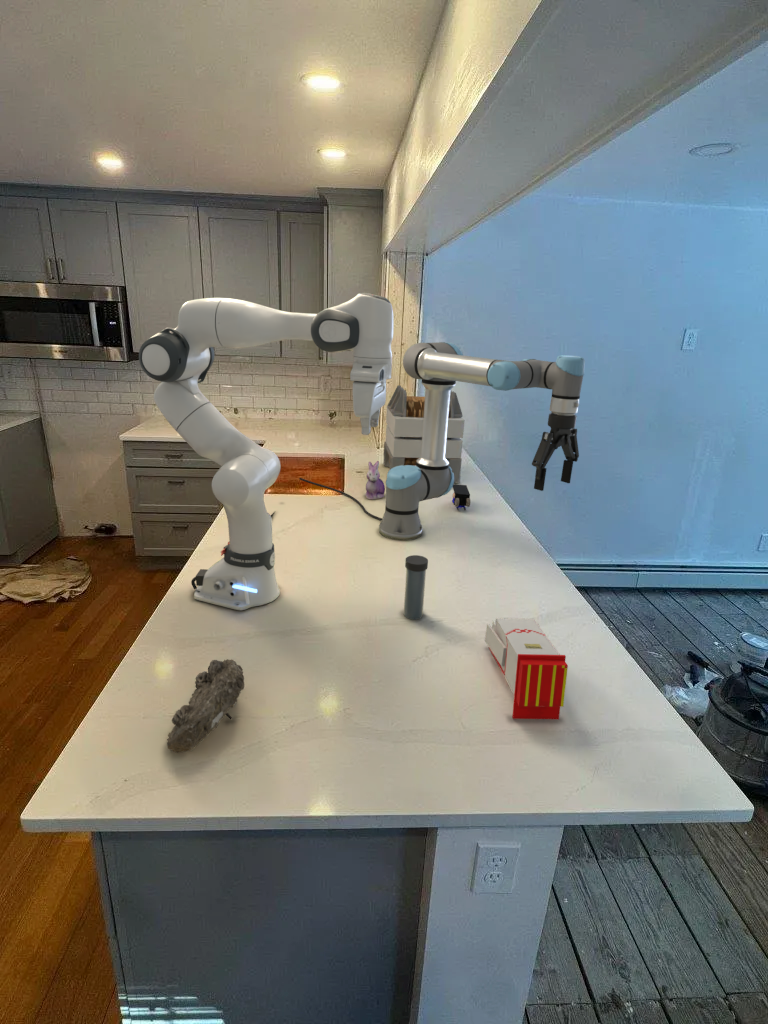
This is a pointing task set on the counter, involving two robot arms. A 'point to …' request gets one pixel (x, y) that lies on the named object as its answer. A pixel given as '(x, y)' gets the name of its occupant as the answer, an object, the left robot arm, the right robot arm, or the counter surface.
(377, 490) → the figurine
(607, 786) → the counter surface
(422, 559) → the lid
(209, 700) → the fossil
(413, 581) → the jar
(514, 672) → the toy
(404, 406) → the white slatted box
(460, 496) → the figurine character
